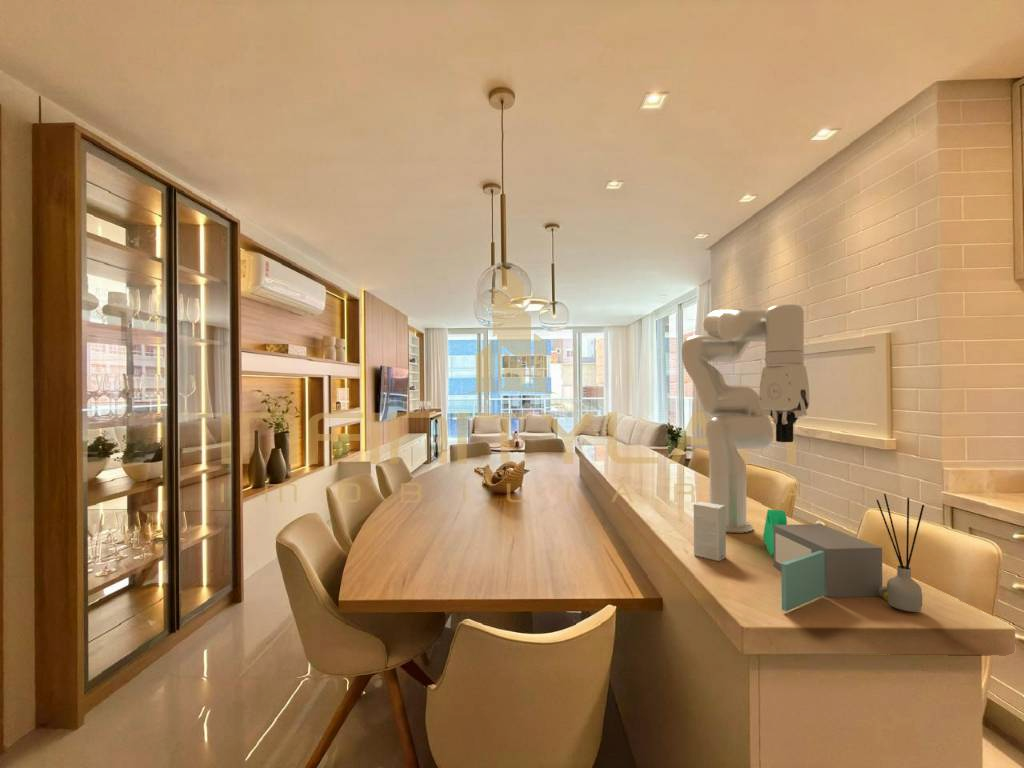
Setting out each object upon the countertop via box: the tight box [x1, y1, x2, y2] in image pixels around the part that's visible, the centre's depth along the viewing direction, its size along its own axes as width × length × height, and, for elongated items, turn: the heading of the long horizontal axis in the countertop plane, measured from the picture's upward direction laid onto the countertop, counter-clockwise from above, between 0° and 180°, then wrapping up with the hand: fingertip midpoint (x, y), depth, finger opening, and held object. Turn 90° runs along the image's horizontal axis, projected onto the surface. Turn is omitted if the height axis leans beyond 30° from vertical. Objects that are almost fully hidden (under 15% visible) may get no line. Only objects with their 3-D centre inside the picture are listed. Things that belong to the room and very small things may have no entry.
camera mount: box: [762, 509, 788, 557], centre depth 113 cm, size 12×8×10 cm, turn 164°
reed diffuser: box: [876, 493, 925, 613], centre depth 85 cm, size 10×7×20 cm
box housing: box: [773, 523, 883, 598], centre depth 98 cm, size 16×11×9 cm
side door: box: [781, 551, 825, 612], centre depth 86 cm, size 13×1×8 cm, turn 122°
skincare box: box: [693, 501, 727, 562], centre depth 111 cm, size 6×4×12 cm
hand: (784, 441), depth 108 cm, fingers closed
